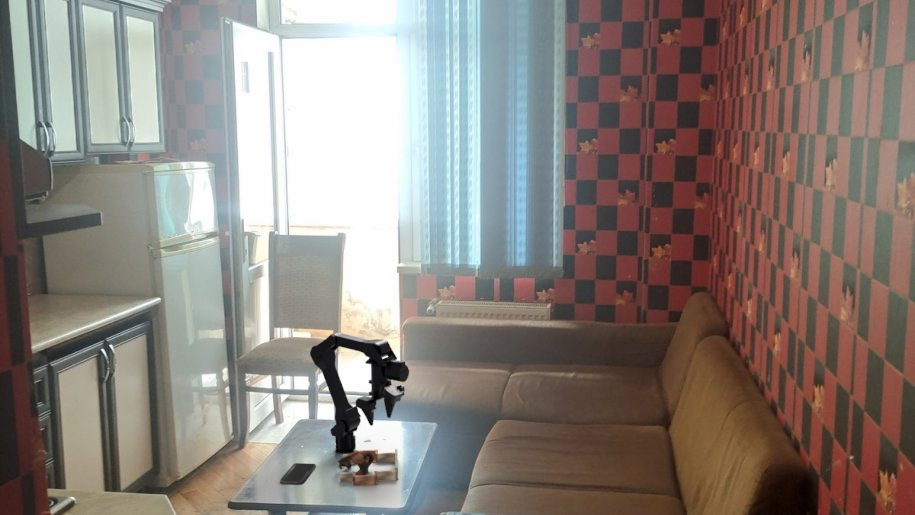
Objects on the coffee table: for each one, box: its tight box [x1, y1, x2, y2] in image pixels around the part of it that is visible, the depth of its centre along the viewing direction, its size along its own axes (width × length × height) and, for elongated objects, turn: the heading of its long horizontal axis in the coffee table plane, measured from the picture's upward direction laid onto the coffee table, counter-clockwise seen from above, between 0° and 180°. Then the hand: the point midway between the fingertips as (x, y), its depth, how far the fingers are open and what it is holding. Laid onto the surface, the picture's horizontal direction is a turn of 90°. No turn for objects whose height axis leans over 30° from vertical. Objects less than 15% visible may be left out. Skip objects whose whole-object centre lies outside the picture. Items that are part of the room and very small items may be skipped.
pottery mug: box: [337, 450, 374, 476], centre depth 272 cm, size 12×10×8 cm
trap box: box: [339, 448, 399, 487], centre depth 272 cm, size 18×22×4 cm
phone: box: [279, 462, 317, 485], centre depth 270 cm, size 8×1×15 cm
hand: (380, 421), depth 281 cm, fingers open, 9 cm apart
